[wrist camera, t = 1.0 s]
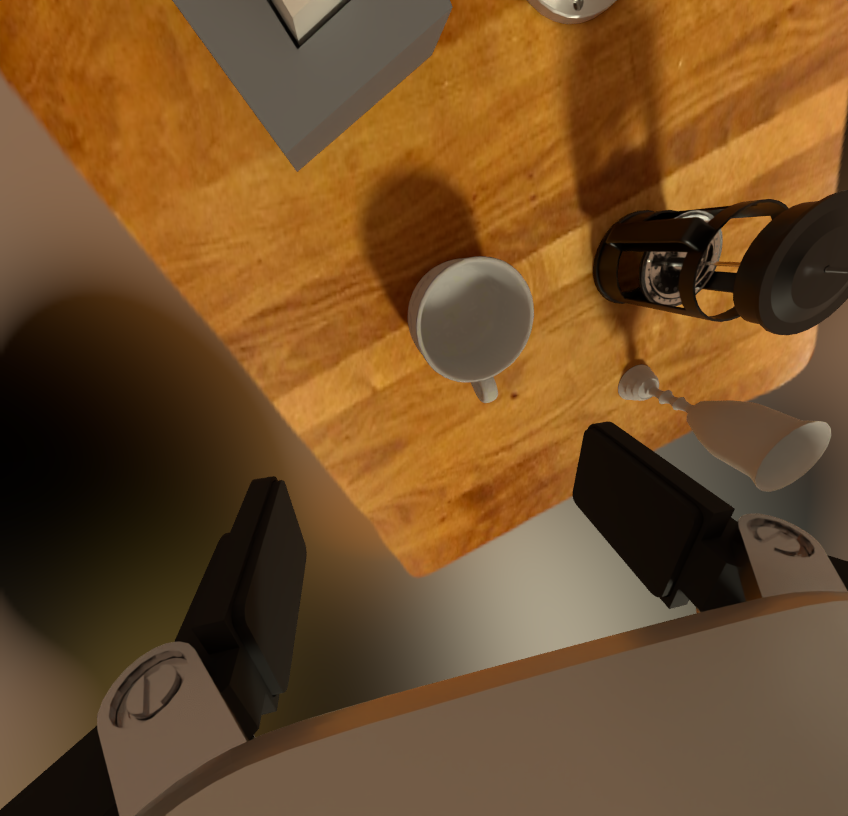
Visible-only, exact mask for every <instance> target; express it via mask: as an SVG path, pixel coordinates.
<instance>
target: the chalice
mask: <svg viewBox="0 0 848 816" xmlns="http://www.w3.org/2000/svg"><path fill="white" fill-rule="evenodd" d="M658 388H659V381H658V378H657V376H655V374H654V373H653V372H652V371H651V369H650V368H649V367H648V366H646V365H637V366H634V367H632V368H631V369H629V370H628V371H627V372H626V373H625V374H624V375H623V377H622V378H621V380H620V382H619V386H618V392H619V395H620V396H621V397H622V398H623V399H626V400H639V401H641V400H646V399H649V398H651V397H652V396H655V397H657V398H658V399H659V403H661V404H665V403H669V404H671V405H672V407H673V409H674V410H682V411H686V412H687V413H688V415H687V422H688V424H689V425H690V427H691V429H692V430H693V432H694V433H695V435H696V437H697V438H698V440H699V441H700V442H701V443H702V444H703V446H704V447H705V448H706V449H707V450H708V451H709V452H710V453H711V454H712V455H713V456H715V457H717V458H718V459H720V460H722V461H723V462H725V463H727V464H729V465H730V466H732V467H734V468H736V469H738V470H739V471H741V472H743V473H744V474H746V475H748V476H749V477H751V479H752V481H753V482H754V483H755V485H756V487H758V488H759V489H760V490H761V491H774V490H778V489H781V488H783V487H785V486H787V485H789V484H791V483H793V482H794V481H795V480H797V479H798V478H800V477H801V476H803V475H804V474H805V473H806V472H807V471H808V470H809V469H810V468H811V467H812V466H813V465H814V464H815V463H816V462H817V461H818V460H819V458H820V457H821V456H822V454H823V452H824V451H825V449H826V448H827V446H828V443H829V440H830V438H831V428H830V427H829V425H828V424H827V423H825V422H820V421H801V420H798V419H796V418H793V417H791V416H789V415H786V414H783V413H781V412H778V411H775V410H773V409H770V408H768V407H765V406H763V405H760V404H757V403H752V402H741V401H702V402H699V403H697V404H696V405H691V404H689V403H688V402H687V401H686V400H685V398H684V397H681V398H677V397H674V396H673V395H672V392H671V391H670V390H667V391H661V390H659V389H658Z"/></svg>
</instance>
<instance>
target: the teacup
mask: <svg viewBox="0 0 848 816" xmlns="http://www.w3.org/2000/svg"><path fill="white" fill-rule="evenodd" d="M533 317H534V308H533V300H532V295H531V292H530V290H529V287H528V285H527V283H526V281H525V280H524V279H523V277H522V276H521V274H520V273H519V272H518V271H517V270H516V269H515V268H513V267H512V266H511V265H509V264H508V263H506V262H504V261H502V260H499V259H496V258H492V257H484V256H477V257H470V258H462V259H455V260H450V261H447V262H444V263H442V264H440V265H438V266H436V267H434V268H433V269H431V270H430V271H429V272H428V273H427V274H425V275H424V276H423V278H422V279H421V280H420V281H419V283H418V284H417V286H416V287H415V289H414V291H413V293H412V296H411V299H410V302H409V307H408V325H409V330H410V334H411V337H412V339H413V341H414V343H415V345H416V347H417V348H418V350H419V351H420V352H421V354H422V355H423V356H424V358H425V360H426V361H427V362H428V364H429V365H430V366H431V367H432V368H433V369H434V370H435V371H436V372H438V373H439V374H441V375H442V376H444V377H446V378H448V379H450V380H454V381H457V382H471V384H472V386H473V389H474V391H475V393H476V395H477V397H478V398H479V399H480V401H482V402H484V403H489V402H491V401H493V400H495V399H496V398H497V395H498V391H497V386H496V383H495V380H494V378H493V376H495V375H497V374H498V373H500V372H502V371H503V370H504V369H505V368H507V367H508V366H509V365H511V364H512V363H513V362H514V361H515V360H516V358H517V357H518V356H519V355H520V353H521V352H522V350H523V349H524V347H525V345H526V343H527V341H528V338H529V336H530V333H531V329H532V323H533Z"/></svg>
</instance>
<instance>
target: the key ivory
mask: <svg viewBox="0 0 848 816" xmlns="http://www.w3.org/2000/svg"><path fill="white" fill-rule="evenodd" d="M348 1H349V0H272V2H273V4H274V5H275V7H276V8H277V10H278V12H279V13H280V15H281V17H282V18H283V20H284V21H285V23H286V25H287V26H288V28H289V30H290V31H291V33H292V34H293V36H294V38H295V39H296V41H297V43H298V44H299V46H300V45H301V44H302V43H303V42H305V41H306V40H307V39H308V38H309V37H310V36H311V35H312V34H313V33H314V32H315V31H316V30H318V29H319V28H320V27H321V26H322V25H323V24H324V23H325V22H326V21H327V20H328V19H329V18H331V17H332V16H333V15H334V14H335V13H336V12H337V11H338V10H339V9H340V8H341V7H342V6H344V5H345V4H346V3H347V2H348Z"/></svg>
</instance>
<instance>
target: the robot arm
mask: <svg viewBox="0 0 848 816" xmlns="http://www.w3.org/2000/svg"><path fill="white" fill-rule="evenodd" d="M527 1H528V2H529V3H530V4H531V5H532V6H533V7H534V8H535V9H536V10H537V11H538V12H539V13H540V14H542V15H543V16H545V17H547V18H549V19H551V20H553V21H555V22H560V23H564V24H576V23H582V22H585V21H588V20H590V19H593V18H595V17H597V16H598V15H600V14H601V13H603V12H604V11H606V10H607V9H608V8H609V7H610V6H611V5H612V4H613V3H615V2H616V1H617V0H527ZM573 499H574V501H575V503H576V505H577V506H578V507H579V508H580V510H581V511H582V512H583V513H584V514H585V515H586V517H587V518H588V519H589V520H590V521H591V523H592V524H593V525H594V526H595V527H596V528H597V530H598V531H599V532H600V533H601V534H602V536H603V537H604V538H605V539H606V540H607V541H608V543H609V544H610V545H611V546H612V547H613V549H614V550H615V551H616V552H617V553H618V554H619V556H620V557H621V558H622V559H623V560H624V562H625V563H626V564H627V565H628V566H629V567H630V569H631V570H632V571H633V572H634V573H635V575H636V576H637V577H638V578H639V579H640V580H641V582H642V583H643V584H644V585H645V586H646V587H647V589H648V590H649V591H650V592H651V593H652V594H653V595H654V596H656V597H660V599H661V600H662V601H663V602H664V603H665V604H666V606H667V607H668V608H669V609H671V608H674V607H679V606H682V605H686V604H687V603H688V601H689V600H690V601H691V602H692V603H693V604H694V605H695V606H696V611H697V614H693V615H689V616H685V617H681V618H677V619H674V620H670V621H666V622H662V623H658V624H655V625H650V626H647V627H643V628H639V629H635V630H631V631H627V632H623V633H620V634H616V635H612V636H608V637H605V638H601V639H597V640H593V641H589V642H585V643H582V644H578V645H574V646H570V647H566V648H563V649H559V650H555V651H552V652H548V653H544V654H540V655H536V656H533V657H529V658H525V659H521V660H518V661H514V662H510V663H506V664H503V665H499V666H495V667H492V668H488V669H484V670H480V671H477V672H473V673H469V674H466V675H462V676H458V677H455V678H451V679H447V680H444V681H440V682H436V683H432V684H429V685H425V686H422V687H418V688H414V689H411V690H407V691H403V692H400V693H396V694H392V695H388V696H385V697H381V698H378V699H375V700H371V701H367V702H364V703H361V704H357V705H354V706H350V707H347V708H343V709H341V710H337V711H333V712H330V713H326V714H323V715H320V716H316V717H313V718H309V719H306V720H303V721H300V722H297V723H294V724H291V725H289V726H286V727H283V728H280V729H277V730H274V731H271V732H269V733H266V734H263V735H261V736H258V737H256V738H255V737H254V734H255V732H256V731H257V730H258V729H259V725H260V720H261V715H263V714H267V713H271V712H275V711H277V705H278V700H279V694H280V693H284V692H285V691H286V690H287V687H288V682H289V675H290V668H291V661H292V654H293V647H294V640H295V633H296V626H297V619H298V612H299V606H300V599H301V592H302V585H303V578H304V570H305V563H306V546H305V542H304V539H303V537H302V533H301V530H300V527H299V524H298V521H297V519H296V515H295V512H294V509H293V506H292V503H291V500H290V497H289V494H288V491H287V488H286V485H285V482H284V481H282V480H280V481H278V480H277V478H276V477H274V476H273V477H267V478H261V479H254V480H252V482H251V484H250V486H249V489H248V491H247V494H246V496H245V498H244V501H243V503H242V506H241V508H240V510H239V513H238V515H237V517H236V520H235V522H234V525H233V527H232V529H231V532H230V533H226V534H224V535H223V536H222V537H221V539H220V540H219V542H218V544H217V546H216V549H215V551H214V553H213V556H212V558H211V560H210V562H209V565H208V567H207V569H206V571H205V574H204V576H203V578H202V580H201V583H200V585H199V587H198V590H197V592H196V594H195V596H194V599H193V601H192V603H191V605H190V608H189V610H188V612H187V614H186V617H185V619H184V621H183V624H182V626H181V628H180V630H179V633H178V635H177V637H176V639H175V642H172V643H166V644H164V645H162V646H159V647H157V648H154V649H152V650H151V651H149V652H148V653H146V654H144V655H143V656H141V657H140V658H138V659H137V660H136V661H135V662H134V663H132V664H131V665H130V666H129V667H128V668H127V669H126V670H125V671H124V672H123V673H122V674H121V675H120V676H119V678H118V679H117V680H116V681H115V682H114V684H113V685H112V686H111V688H110V689H109V691H108V693H107V694H106V696H105V698H104V699H103V701H102V704H101V707H100V710H99V713H98V716H97V726H96V727H95V728H94V729H93V730H91V731H90V732H89V733H88V734H87V735H86V736H84V737H83V739H81V740H80V741H79V742H78V743H76V744H75V745H74V746H73V747H72V748H71V749H70V750H68V751H67V752H66V753H65V754H64V755H63V756H61V757H60V758H59V759H58V760H57V761H56V762H55V763H53V764H52V765H51V766H50V767H49V768H48V769H47V770H45V771H44V772H43V773H42V774H41V775H40V776H39V777H37V778H36V779H35V780H34V781H33V782H32V783H30V784H29V785H28V786H27V787H26V788H25V789H24V790H22V791H21V792H20V793H19V794H18V795H17V796H16V797H15V798H13V799H12V800H11V801H10V802H9V803H8V804H6V805H5V806H4V807H3V808H2V809H1V810H0V816H848V561H844V560H841V559H838V558H835V557H831V556H828V555H827V554H826V552H825V551H824V549H823V547H822V546H821V545H820V544H819V543H818V541H817V540H816V539H814V538H813V537H812V536H811V535H810V534H808V533H807V532H805V531H804V530H802V529H800V528H799V527H797V526H795V525H793V524H791V523H789V522H786V521H784V520H782V519H779V518H775V517H772V516H769V515H763V514H747V515H744V516H741V518H740V519H739V520H738V522H737V521H735V520H734V519H732V518H731V516H732V514H733V512H734V508H733V507H732V506H730V505H729V504H727V503H726V502H724V501H723V500H721V499H720V498H719V497H717V496H716V495H714V494H713V493H712V492H710V491H709V490H707V489H706V488H704V487H703V486H702V485H700V484H699V483H697V482H696V481H694V480H693V479H692V478H690V477H689V476H687V475H686V474H685V473H683V472H682V471H680V470H679V469H677V468H676V467H675V466H673V465H672V464H670V463H669V462H668V461H666V460H665V459H663V458H662V457H660V456H659V455H658V454H656V453H655V452H653V451H652V450H651V449H649V448H648V447H646V446H645V445H643V444H642V443H641V442H639V441H638V440H636V439H635V438H633V437H632V436H631V435H629V434H628V433H626V432H625V431H624V430H622V429H621V428H619V427H618V426H616V425H615V424H614V423H612V422H602V423H596V424H592V425H590V426H589V427H588V429H587V430H586V431H585V432H584V436H583V441H582V446H581V452H580V457H579V462H578V467H577V473H576V478H575V483H574V488H573Z"/></svg>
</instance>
